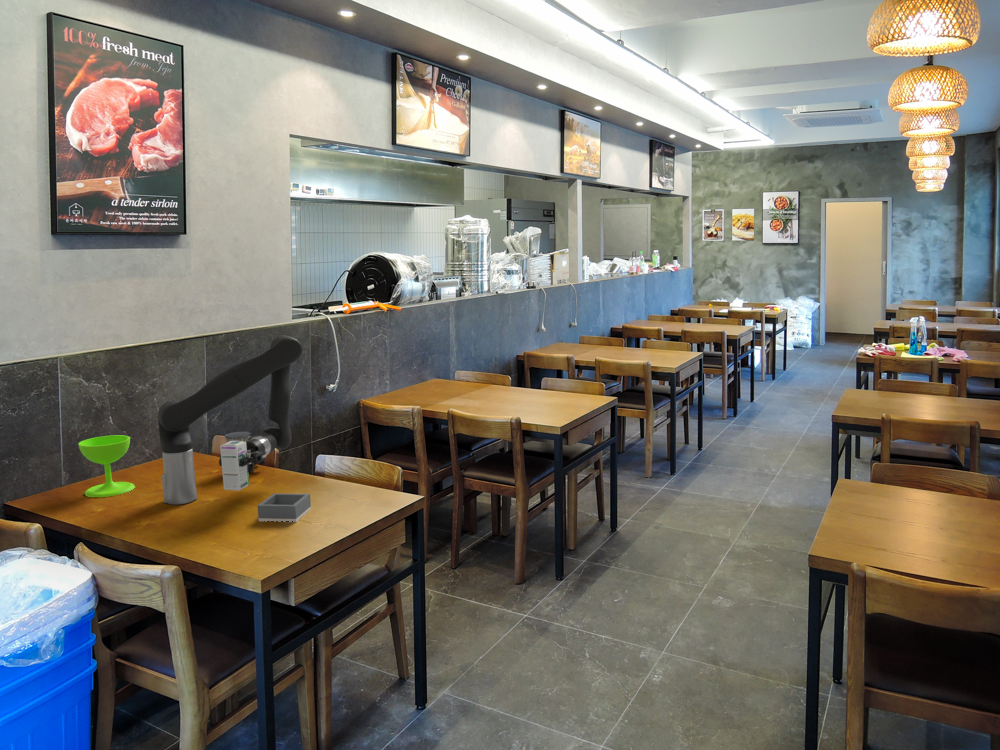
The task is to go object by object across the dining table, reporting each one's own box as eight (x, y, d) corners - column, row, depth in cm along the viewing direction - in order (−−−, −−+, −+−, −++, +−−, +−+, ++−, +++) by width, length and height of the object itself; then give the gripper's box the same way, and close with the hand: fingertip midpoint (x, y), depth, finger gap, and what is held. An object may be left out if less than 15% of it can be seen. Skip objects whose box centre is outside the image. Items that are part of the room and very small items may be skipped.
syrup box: (240, 490, 235) (237, 445, 232) (222, 489, 236) (219, 444, 234) (249, 485, 240) (247, 440, 238) (232, 484, 241) (229, 439, 239)
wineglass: (143, 483, 273) (138, 434, 271) (122, 497, 258) (117, 445, 255) (98, 484, 273) (92, 436, 270) (74, 498, 257) (68, 447, 254)
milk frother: (230, 477, 278) (226, 438, 276) (223, 467, 292) (219, 430, 289) (269, 471, 285) (266, 433, 282) (261, 462, 298) (258, 425, 296)
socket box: (258, 521, 230) (257, 505, 229) (275, 508, 242) (274, 493, 241) (296, 522, 229) (295, 506, 228) (311, 509, 240) (310, 493, 240)
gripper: (233, 438, 251) (208, 450, 235) (275, 439, 249) (252, 452, 233) (235, 460, 252) (209, 474, 236) (276, 461, 250) (253, 475, 234)
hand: (231, 463), depth 234 cm, fingers closed on syrup box, 6 cm apart
